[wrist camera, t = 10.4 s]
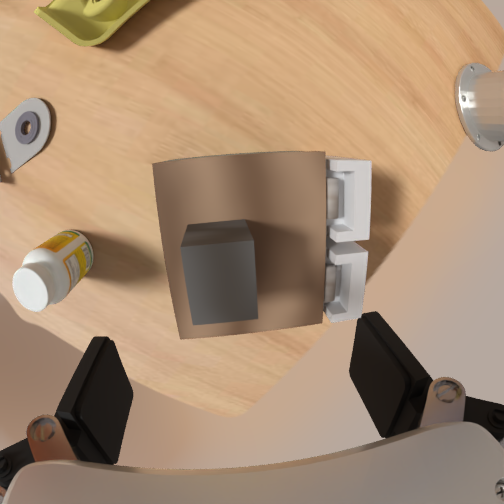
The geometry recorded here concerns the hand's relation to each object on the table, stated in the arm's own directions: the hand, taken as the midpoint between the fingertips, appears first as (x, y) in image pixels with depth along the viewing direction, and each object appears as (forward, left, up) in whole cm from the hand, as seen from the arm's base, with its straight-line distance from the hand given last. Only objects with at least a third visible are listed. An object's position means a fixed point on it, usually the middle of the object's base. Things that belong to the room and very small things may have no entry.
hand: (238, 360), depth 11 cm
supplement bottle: (+16, +1, -20) cm, 26 cm away
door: (-2, 0, -13) cm, 13 cm away
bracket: (+22, -13, -21) cm, 33 cm away
